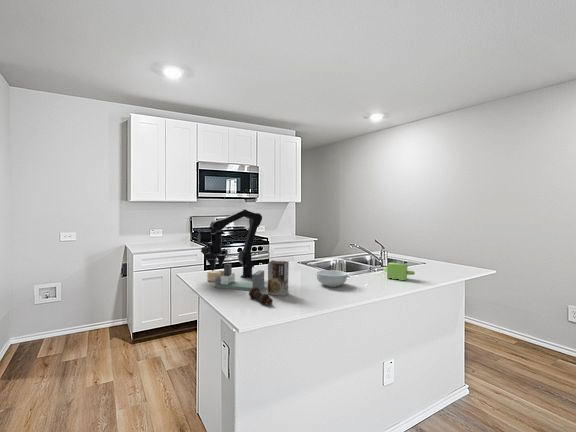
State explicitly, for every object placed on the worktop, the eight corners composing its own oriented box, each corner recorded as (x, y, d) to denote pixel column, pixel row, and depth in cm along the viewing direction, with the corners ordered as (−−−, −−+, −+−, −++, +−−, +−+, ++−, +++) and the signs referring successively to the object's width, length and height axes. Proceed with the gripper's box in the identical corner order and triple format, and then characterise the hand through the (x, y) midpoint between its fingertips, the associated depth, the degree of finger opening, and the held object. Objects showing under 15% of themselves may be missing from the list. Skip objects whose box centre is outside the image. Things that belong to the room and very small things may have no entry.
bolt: (268, 310, 144) (252, 300, 156) (276, 303, 146) (260, 294, 158) (262, 300, 142) (247, 291, 154) (271, 293, 144) (255, 284, 156)
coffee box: (288, 292, 165) (289, 261, 164) (284, 296, 159) (284, 263, 158) (272, 291, 168) (272, 260, 167) (267, 294, 162) (267, 262, 161)
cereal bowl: (350, 283, 186) (350, 271, 185) (342, 290, 171) (342, 277, 170) (322, 280, 193) (322, 268, 192) (312, 286, 178) (312, 273, 177)
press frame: (223, 282, 182) (223, 267, 182) (264, 286, 177) (264, 270, 176) (215, 287, 173) (215, 271, 172) (257, 291, 167) (258, 274, 167)
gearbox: (415, 279, 200) (416, 264, 200) (413, 282, 191) (414, 266, 191) (385, 275, 208) (386, 261, 208) (381, 278, 199) (382, 262, 199)
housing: (211, 278, 193) (211, 270, 192) (224, 279, 191) (224, 271, 191) (207, 281, 187) (207, 272, 187) (220, 282, 185) (220, 273, 185)
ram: (227, 280, 181) (227, 262, 181) (234, 280, 180) (234, 263, 180) (220, 284, 172) (220, 265, 172) (227, 284, 171) (227, 266, 171)
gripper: (211, 239, 199) (211, 265, 200) (195, 243, 181) (195, 271, 182) (228, 240, 196) (228, 266, 197) (213, 244, 178) (213, 272, 179)
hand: (216, 269), depth 189 cm, fingers open, 9 cm apart
